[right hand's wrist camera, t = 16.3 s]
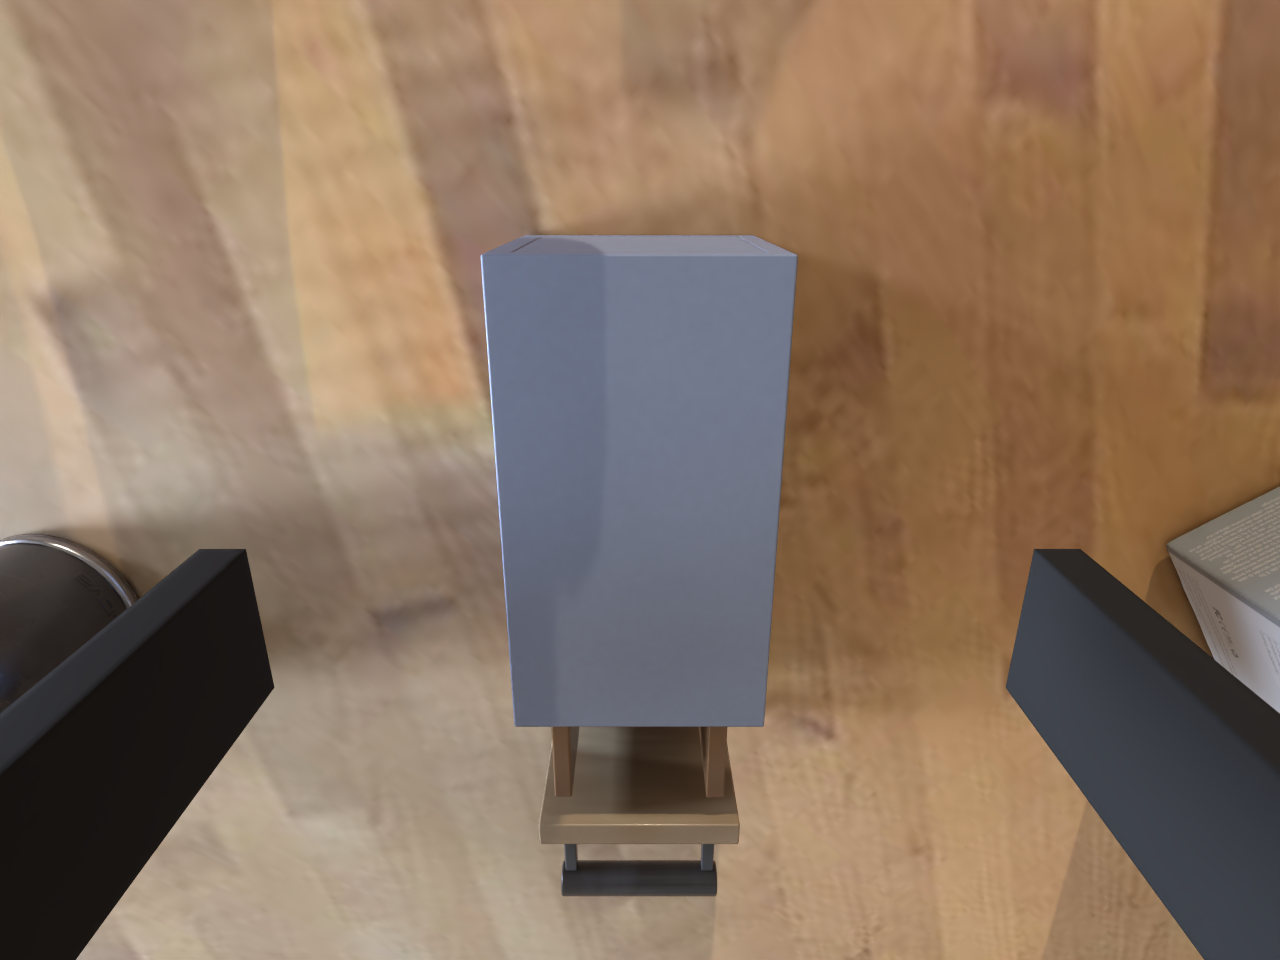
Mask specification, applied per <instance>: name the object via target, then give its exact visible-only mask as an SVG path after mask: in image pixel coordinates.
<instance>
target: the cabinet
mask: <svg viewBox="0 0 1280 960" xmlns="http://www.w3.org/2000/svg"><path fill="white" fill-rule="evenodd" d="M797 261H798V256H797V255H796V254H794V253H792V252H789V251H787V250H785V249H783V248H780V247H778V246H776V245H774V244H771V243H769V242H767V241H765V240H762V239H760V238H758V237H756V236H754V235H525V236H522V237H520V238H518V239H516V240H513V241H511V242H509V243H507V244H504V245H502V246H500V247H497V248H495V249H493V250H491V251H488V252H486V253H484V254H482V255H481V267H482V280H483V294H484V308H485V322H486V336H487V350H488V364H489V378H490V391H491V405H492V419H493V433H494V447H495V461H496V475H497V489H498V502H499V516H500V530H501V544H502V558H503V572H504V586H505V600H506V613H507V627H508V641H509V655H510V669H511V683H512V697H513V711H514V724H515V726H516V727H763V726H764V716H765V702H766V689H767V675H768V661H769V647H770V634H771V620H772V606H773V592H774V578H775V565H776V551H777V537H778V523H779V509H780V496H781V482H782V468H783V454H784V440H785V427H786V413H787V399H788V385H789V372H790V358H791V344H792V330H793V316H794V303H795V289H796V275H797Z"/></svg>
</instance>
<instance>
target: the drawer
mask: <svg viewBox="0 0 1280 960" xmlns="http://www.w3.org/2000/svg"><path fill="white" fill-rule="evenodd" d="M551 728H552V744H551V750H550V757H549V763H548V769H547V776H546V782H545V788H544V795H543V801H542V807H541V814H540V820H539V838H540V844H565V861H564V862H563V866H562V879H561V891H562V896H716V894H717V872H716V863H715V861H713V855H714V844H738V842H739V828H740V824H739V817H738V811H737V805H736V798H735V792H734V785H733V779H732V772H731V766H730V760H729V753H728V747H727V727H551ZM577 844H701V860H578V855H577Z"/></svg>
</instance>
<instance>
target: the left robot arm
mask: <svg viewBox="0 0 1280 960" xmlns="http://www.w3.org/2000/svg"><path fill="white" fill-rule="evenodd" d="M137 600H138V599H137V596H136V595H135V593H134V591H133V589H132V588H131V586H130V585H129V584H128V582H127V581H126V580H125V578H124V577H123V576H122V575H121V574H120V573H119V572H118V571H117V570H116V569H115V568H114V567H113V566H112V565H111V564H110V563H109V562H107V561H106V560H105V559H103V558H102V557H101V556H99V555H98V554H96V553H94V552H93V551H91V550H89V549H87V548H86V547H84V546H81V545H79V544H77V543H74V542H72V541H69V540H66V539H63V538H59V537H55V536H50V535H41V534H23V535H16V536H12V537H8V538H5V539H2V540H0V713H1V712H3V711H4V710H5V709H6V708H8V707H9V706H10V705H11V704H12V703H14V702H15V701H16V700H17V699H18V698H20V697H21V696H22V695H23V694H25V693H26V692H27V691H28V690H29V689H31V688H32V687H33V686H34V685H35V684H37V683H38V682H39V681H40V680H42V679H43V678H44V677H45V676H46V675H48V674H49V673H50V672H51V671H52V670H54V669H55V668H56V667H57V666H59V665H60V664H61V663H62V662H63V661H65V660H66V659H67V658H68V657H69V656H71V655H72V654H73V653H74V652H75V651H77V650H78V649H79V648H80V647H82V646H83V645H84V644H85V643H86V642H88V641H89V640H90V639H91V638H92V637H94V636H95V635H96V634H97V633H99V632H100V631H101V630H102V629H103V628H105V627H106V626H107V625H108V624H109V623H111V622H112V621H113V620H114V619H116V618H117V617H118V616H119V615H120V614H122V613H123V612H124V611H125V610H126V609H128V608H129V607H130V606H131V605H133V604H134V603H135V602H136V601H137Z"/></svg>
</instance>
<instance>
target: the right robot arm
mask: <svg viewBox="0 0 1280 960" xmlns="http://www.w3.org/2000/svg"><path fill="white" fill-rule="evenodd" d="M273 689H274V684H273V679H272V674H271V669H270V664H269V659H268V655H267V650H266V645H265V640H264V635H263V630H262V626H261V621H260V616H259V611H258V606H257V601H256V596H255V592H254V587H253V582H252V577H251V572H250V567H249V563H248V558H247V553H246V549H199V550H198V551H197V552H196V553H194V554H193V555H192V556H191V557H190V558H188V559H187V560H186V561H185V562H183V563H182V564H181V565H180V566H179V567H177V568H176V569H175V570H174V571H173V572H171V573H170V574H169V575H168V576H166V577H165V578H164V579H163V580H162V581H160V582H159V583H158V584H157V585H156V586H154V587H153V588H152V589H151V590H149V591H148V592H147V593H146V594H145V595H143V596H142V597H141V598H140V599H139V600H137V601H136V602H135V603H134V604H133V605H131V606H130V607H129V608H128V609H126V610H125V611H124V612H123V613H122V614H120V615H119V616H118V617H117V618H116V619H114V620H113V621H112V622H111V623H109V624H108V625H107V626H106V627H105V628H103V629H102V630H101V631H100V632H99V633H97V634H96V635H95V636H94V637H92V638H91V639H90V640H89V641H88V642H86V643H85V644H84V645H83V646H82V647H80V648H79V649H78V650H77V651H75V652H74V653H73V654H72V655H71V656H69V657H68V658H67V659H66V660H65V661H63V662H62V663H61V664H60V665H59V666H57V667H56V668H55V669H54V670H52V671H51V672H50V673H49V674H48V675H46V676H45V677H44V678H43V679H42V680H40V681H39V682H38V683H37V684H35V685H34V686H33V687H32V688H31V689H29V690H28V691H27V692H26V693H25V694H23V695H22V696H21V697H20V698H18V699H17V700H16V701H15V702H14V703H12V704H11V705H10V706H9V707H8V708H6V709H5V710H4V711H3V712H1V713H0V960H76V959H77V957H78V956H79V954H80V953H81V952H82V950H83V949H84V948H85V946H86V945H87V944H88V942H89V941H90V939H91V938H92V937H93V935H94V934H95V933H96V931H97V930H98V928H99V927H100V926H101V924H102V923H103V922H104V920H105V919H106V917H107V916H108V915H109V913H110V912H111V911H112V909H113V908H114V907H115V905H116V904H117V902H118V901H119V900H120V898H121V897H122V896H123V894H124V893H125V891H126V890H127V889H128V887H129V886H130V885H131V883H132V882H133V880H134V879H135V878H136V876H137V875H138V874H139V872H140V871H141V870H142V868H143V867H144V865H145V864H146V863H147V861H148V860H149V859H150V857H151V856H152V854H153V853H154V852H155V850H156V849H157V848H158V846H159V845H160V843H161V842H162V841H163V839H164V838H165V837H166V835H167V834H168V832H169V831H170V830H171V828H172V827H173V826H174V824H175V823H176V822H177V820H178V819H179V817H180V816H181V815H182V813H183V812H184V811H185V809H186V808H187V806H188V805H189V804H190V802H191V801H192V800H193V798H194V797H195V795H196V794H197V793H198V791H199V790H200V789H201V787H202V786H203V785H204V783H205V782H206V780H207V779H208V778H209V776H210V775H211V774H212V772H213V771H214V769H215V768H216V767H217V765H218V764H219V763H220V761H221V760H222V758H223V757H224V756H225V754H226V753H227V752H228V750H229V749H230V748H231V746H232V745H233V743H234V742H235V741H236V739H237V738H238V737H239V735H240V734H241V732H242V731H243V730H244V728H245V727H246V726H247V724H248V723H249V721H250V720H251V719H252V717H253V716H254V715H255V713H256V712H257V710H258V709H259V708H260V706H261V705H262V704H263V702H264V701H265V700H266V698H267V697H268V695H269V694H270V693H271V691H272V690H273ZM1006 689H1007V690H1008V691H1009V693H1010V694H1011V695H1012V697H1013V698H1014V700H1015V701H1016V702H1017V704H1018V705H1019V706H1020V708H1021V709H1022V710H1023V712H1024V713H1025V715H1026V716H1027V717H1028V719H1029V720H1030V721H1031V723H1032V724H1033V726H1034V727H1035V728H1036V730H1037V731H1038V732H1039V734H1040V735H1041V737H1042V738H1043V739H1044V741H1045V742H1046V743H1047V745H1048V746H1049V748H1050V749H1051V750H1052V752H1053V753H1054V754H1055V756H1056V757H1057V758H1058V760H1059V761H1060V763H1061V764H1062V765H1063V767H1064V768H1065V769H1066V771H1067V772H1068V774H1069V775H1070V776H1071V778H1072V779H1073V780H1074V782H1075V783H1076V785H1077V786H1078V787H1079V789H1080V790H1081V791H1082V793H1083V794H1084V795H1085V797H1086V798H1087V800H1088V801H1089V802H1090V804H1091V805H1092V806H1093V808H1094V809H1095V811H1096V812H1097V813H1098V815H1099V816H1100V817H1101V819H1102V820H1103V822H1104V823H1105V824H1106V826H1107V827H1108V828H1109V830H1110V831H1111V832H1112V834H1113V835H1114V837H1115V838H1116V839H1117V841H1118V842H1119V843H1120V845H1121V846H1122V848H1123V849H1124V850H1125V852H1126V853H1127V854H1128V856H1129V857H1130V859H1131V860H1132V861H1133V863H1134V864H1135V865H1136V867H1137V868H1138V870H1139V871H1140V872H1141V874H1142V875H1143V876H1144V878H1145V879H1146V880H1147V882H1148V883H1149V885H1150V886H1151V887H1152V889H1153V890H1154V891H1155V893H1156V894H1157V896H1158V897H1159V898H1160V900H1161V901H1162V902H1163V904H1164V905H1165V907H1166V908H1167V909H1168V911H1169V912H1170V913H1171V915H1172V916H1173V917H1174V919H1175V920H1176V922H1177V923H1178V924H1179V926H1180V927H1181V928H1182V930H1183V931H1184V933H1185V934H1186V935H1187V937H1188V938H1189V939H1190V941H1191V942H1192V944H1193V945H1194V946H1195V948H1196V949H1197V950H1198V952H1199V953H1200V954H1201V956H1202V957H1203V959H1204V960H1280V713H1279V712H1277V711H1276V710H1275V709H1274V708H1272V707H1271V706H1270V705H1269V704H1268V703H1266V702H1265V701H1264V700H1263V699H1262V698H1260V697H1259V696H1258V695H1257V694H1255V693H1254V692H1253V691H1252V690H1251V689H1249V688H1248V687H1247V686H1246V685H1245V684H1243V683H1242V682H1241V681H1240V680H1238V679H1237V678H1236V677H1235V676H1234V675H1232V674H1231V673H1230V672H1229V671H1228V670H1226V669H1225V668H1224V667H1223V666H1221V665H1220V664H1219V663H1218V662H1217V661H1215V660H1214V659H1213V658H1212V657H1211V656H1209V655H1208V654H1207V653H1206V652H1205V651H1203V650H1202V649H1201V648H1200V647H1198V646H1197V645H1196V644H1195V643H1194V642H1192V641H1191V640H1190V639H1189V638H1188V637H1186V636H1185V635H1184V634H1183V633H1181V632H1180V631H1179V630H1178V629H1177V628H1175V627H1174V626H1173V625H1172V624H1171V623H1169V622H1168V621H1167V620H1166V619H1164V618H1163V617H1162V616H1161V615H1160V614H1158V613H1157V612H1156V611H1155V610H1154V609H1152V608H1151V607H1150V606H1149V605H1147V604H1146V603H1145V602H1144V601H1143V600H1141V599H1140V598H1139V597H1138V596H1137V595H1135V594H1134V593H1133V592H1132V591H1131V590H1129V589H1128V588H1127V587H1126V586H1124V585H1123V584H1122V583H1121V582H1120V581H1118V580H1117V579H1116V578H1115V577H1114V576H1112V575H1111V574H1110V573H1109V572H1107V571H1106V570H1105V569H1104V568H1103V567H1101V566H1100V565H1099V564H1098V563H1097V562H1095V561H1094V560H1093V559H1092V558H1090V557H1089V556H1088V555H1087V554H1086V553H1084V552H1083V551H1082V550H1081V549H1034V553H1033V558H1032V563H1031V567H1030V572H1029V577H1028V582H1027V587H1026V592H1025V596H1024V601H1023V606H1022V611H1021V616H1020V621H1019V626H1018V630H1017V635H1016V640H1015V645H1014V650H1013V655H1012V659H1011V664H1010V669H1009V674H1008V679H1007V684H1006Z"/></svg>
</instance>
